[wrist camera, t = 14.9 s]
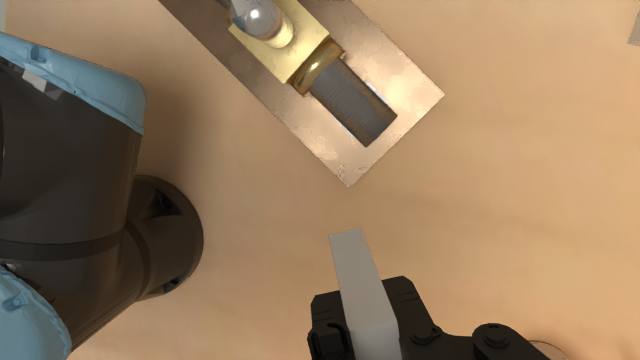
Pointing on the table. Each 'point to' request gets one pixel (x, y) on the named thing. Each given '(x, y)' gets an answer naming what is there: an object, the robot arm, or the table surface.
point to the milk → (635, 33)
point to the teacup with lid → (550, 351)
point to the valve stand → (322, 77)
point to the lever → (262, 21)
